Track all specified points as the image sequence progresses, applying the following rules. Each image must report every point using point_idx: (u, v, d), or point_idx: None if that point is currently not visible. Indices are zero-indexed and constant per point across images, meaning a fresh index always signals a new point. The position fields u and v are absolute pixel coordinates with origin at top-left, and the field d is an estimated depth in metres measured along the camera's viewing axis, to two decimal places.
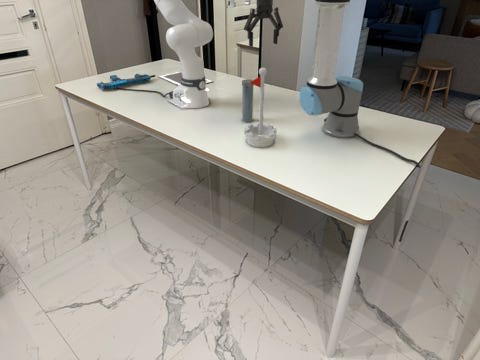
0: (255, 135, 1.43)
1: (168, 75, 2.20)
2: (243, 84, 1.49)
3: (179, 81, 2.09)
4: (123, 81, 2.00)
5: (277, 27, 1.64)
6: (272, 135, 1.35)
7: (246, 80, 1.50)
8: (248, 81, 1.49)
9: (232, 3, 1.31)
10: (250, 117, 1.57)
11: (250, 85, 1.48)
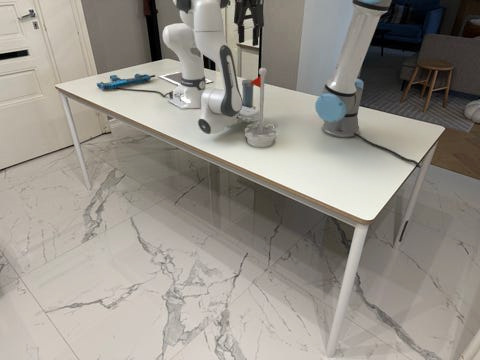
0: (255, 135, 1.43)
1: (168, 75, 2.20)
2: (243, 84, 1.49)
3: (179, 81, 2.09)
4: (123, 81, 2.00)
5: (254, 25, 1.33)
6: (272, 135, 1.35)
7: (246, 80, 1.50)
8: (248, 81, 1.49)
9: None
10: None
11: (250, 85, 1.48)
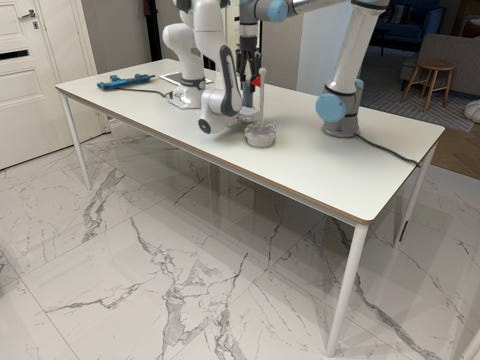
0: (255, 135, 1.43)
1: (168, 75, 2.20)
2: (243, 84, 1.49)
3: (179, 81, 2.09)
4: (123, 81, 2.00)
5: (251, 75, 1.45)
6: (272, 135, 1.35)
7: (246, 80, 1.50)
8: (248, 81, 1.49)
9: None
10: None
11: None
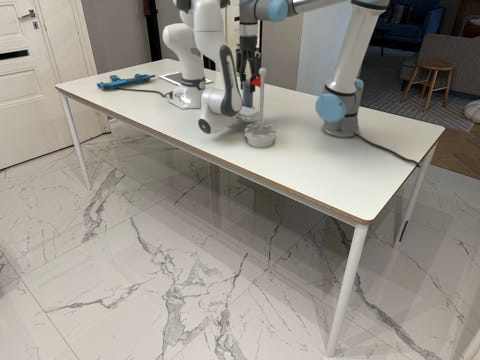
0: (255, 135, 1.43)
1: (168, 75, 2.20)
2: None
3: (179, 81, 2.09)
4: (123, 81, 2.00)
5: (251, 74, 1.45)
6: (272, 135, 1.35)
7: (246, 81, 1.49)
8: (249, 80, 1.50)
9: None
10: None
11: None
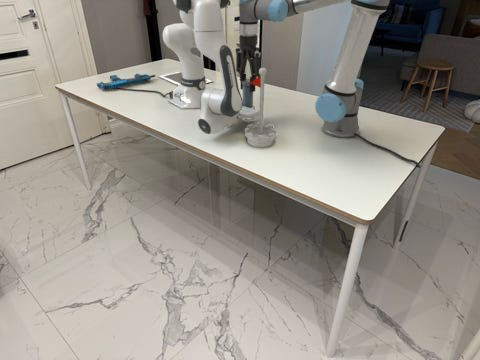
0: (255, 135, 1.43)
1: (168, 75, 2.20)
2: None
3: (179, 81, 2.09)
4: (123, 81, 2.00)
5: (251, 74, 1.45)
6: (272, 135, 1.35)
7: None
8: (246, 80, 1.50)
9: None
10: None
11: None
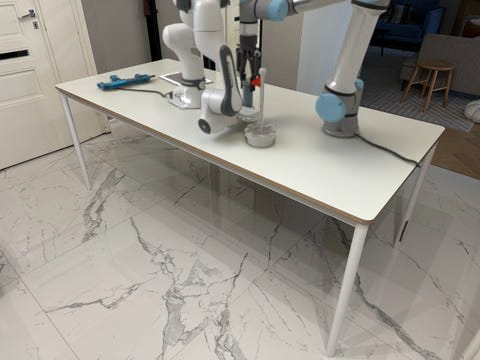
0: (255, 135, 1.43)
1: (168, 75, 2.20)
2: None
3: (179, 81, 2.09)
4: (123, 81, 2.00)
5: (251, 74, 1.45)
6: (272, 135, 1.35)
7: (248, 79, 1.50)
8: (247, 80, 1.49)
9: None
10: None
11: (245, 84, 1.48)
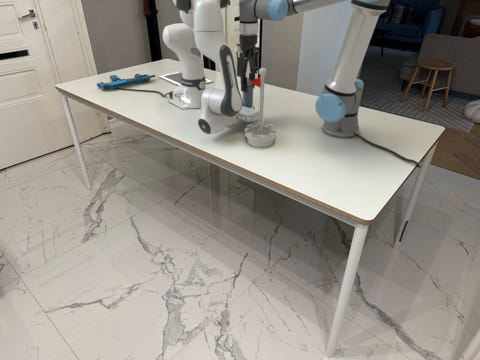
0: (255, 135, 1.43)
1: (168, 75, 2.20)
2: (247, 83, 1.48)
3: (179, 81, 2.09)
4: (123, 81, 2.00)
5: (254, 70, 1.49)
6: (272, 135, 1.35)
7: None
8: (249, 79, 1.49)
9: None
10: None
11: None
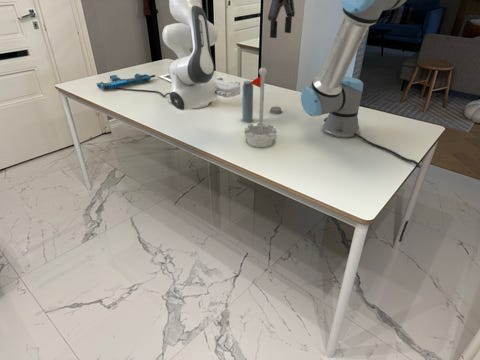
0: (255, 135, 1.43)
1: (168, 75, 2.20)
2: (276, 112, 1.66)
3: None
4: (123, 81, 2.00)
5: (291, 14, 1.49)
6: (272, 135, 1.35)
7: (273, 108, 1.68)
8: (277, 108, 1.67)
9: None
10: (250, 117, 1.57)
11: (280, 111, 1.68)
